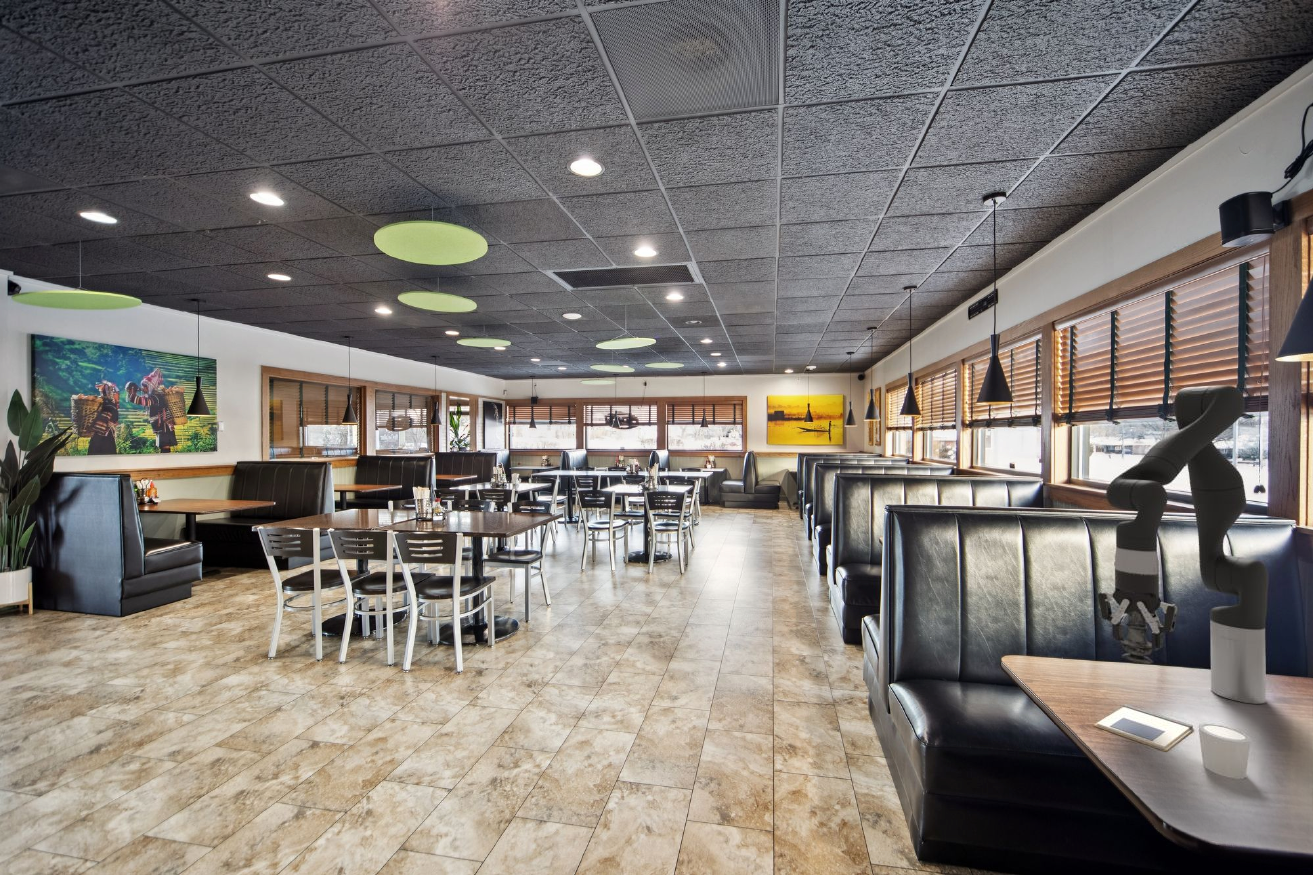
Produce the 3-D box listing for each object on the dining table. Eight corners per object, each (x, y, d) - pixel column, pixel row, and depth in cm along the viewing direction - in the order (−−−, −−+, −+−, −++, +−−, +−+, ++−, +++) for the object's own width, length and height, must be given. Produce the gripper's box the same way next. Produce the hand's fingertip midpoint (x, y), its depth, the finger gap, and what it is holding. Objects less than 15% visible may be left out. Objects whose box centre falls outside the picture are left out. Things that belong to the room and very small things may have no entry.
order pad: (1124, 707, 130) (1124, 703, 130) (1194, 730, 120) (1194, 725, 120) (1093, 726, 122) (1093, 721, 122) (1166, 751, 112) (1166, 746, 112)
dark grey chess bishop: (1161, 664, 123) (1160, 609, 124) (1130, 662, 125) (1129, 607, 125) (1143, 655, 129) (1143, 602, 129) (1114, 653, 130) (1113, 600, 131)
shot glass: (1242, 784, 101) (1241, 744, 101) (1191, 765, 107) (1191, 727, 107) (1257, 774, 104) (1257, 735, 104) (1207, 756, 110) (1207, 719, 110)
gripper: (1184, 573, 123) (1185, 651, 123) (1104, 561, 135) (1105, 633, 135) (1172, 577, 119) (1172, 658, 119) (1091, 565, 131) (1091, 638, 131)
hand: (1136, 644), depth 127 cm, fingers closed on dark grey chess bishop, 6 cm apart
